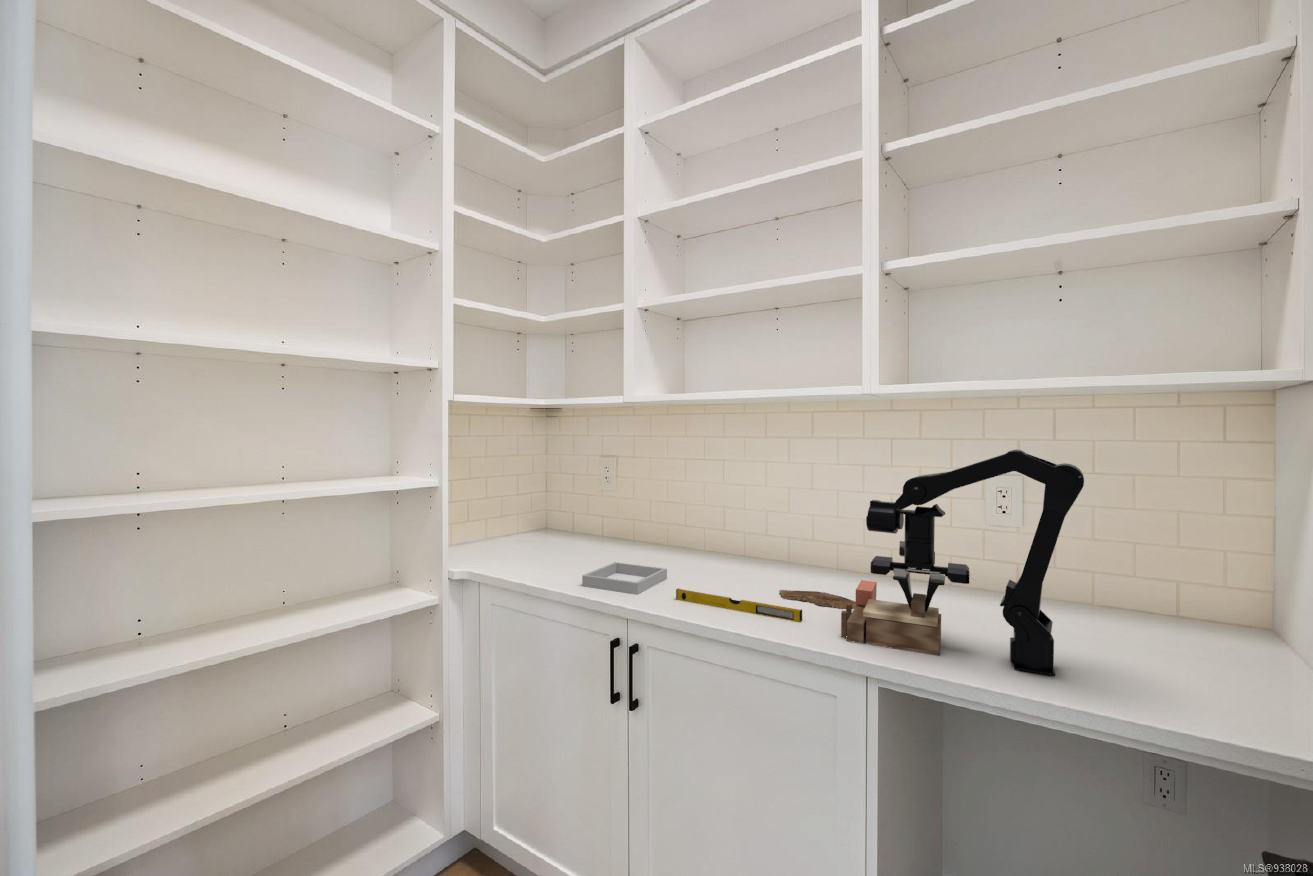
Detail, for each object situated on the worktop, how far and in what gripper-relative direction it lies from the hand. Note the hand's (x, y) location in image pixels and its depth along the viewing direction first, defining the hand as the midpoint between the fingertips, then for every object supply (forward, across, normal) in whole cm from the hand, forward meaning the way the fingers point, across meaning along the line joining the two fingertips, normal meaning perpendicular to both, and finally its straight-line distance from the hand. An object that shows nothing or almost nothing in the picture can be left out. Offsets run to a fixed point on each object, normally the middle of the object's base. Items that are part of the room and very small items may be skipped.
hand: (918, 609), depth 125 cm
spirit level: (+8, +42, -4) cm, 43 cm away
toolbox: (+7, +5, -5) cm, 10 cm away
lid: (+1, +3, 0) cm, 4 cm away
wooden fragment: (+8, +24, -22) cm, 33 cm away
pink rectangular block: (+3, +12, -11) cm, 17 cm away
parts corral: (+7, +79, -13) cm, 80 cm away
